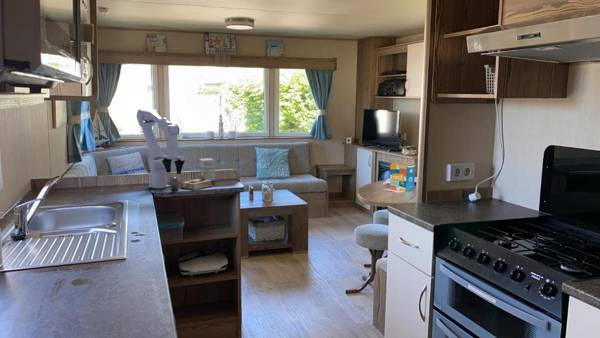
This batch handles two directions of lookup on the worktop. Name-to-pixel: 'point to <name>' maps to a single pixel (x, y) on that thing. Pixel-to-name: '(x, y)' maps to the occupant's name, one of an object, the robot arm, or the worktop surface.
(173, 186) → the steel peg
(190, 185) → the hitch block
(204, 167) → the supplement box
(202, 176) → the latch flap
